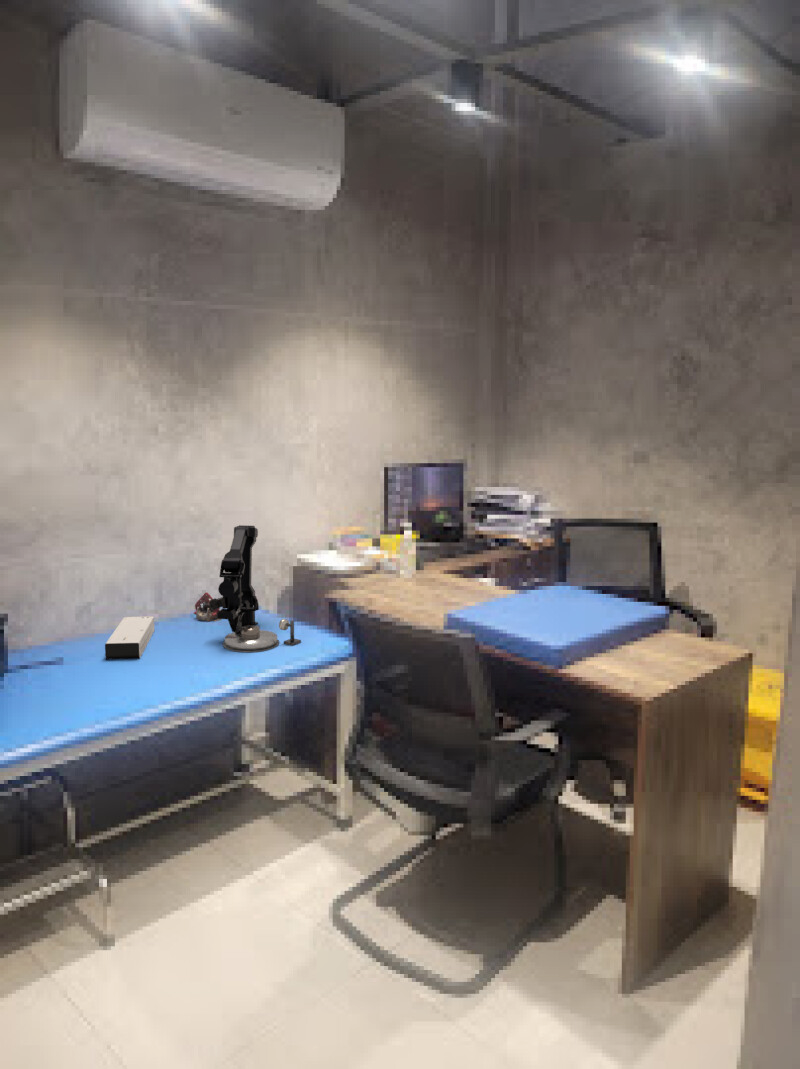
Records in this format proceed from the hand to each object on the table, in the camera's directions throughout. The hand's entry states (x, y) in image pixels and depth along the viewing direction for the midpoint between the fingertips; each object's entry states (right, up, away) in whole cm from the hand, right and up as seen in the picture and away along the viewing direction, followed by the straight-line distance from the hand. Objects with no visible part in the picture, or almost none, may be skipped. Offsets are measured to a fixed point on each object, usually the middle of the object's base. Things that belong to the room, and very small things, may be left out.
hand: (234, 631), depth 302 cm
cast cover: (+7, -2, -2) cm, 7 cm away
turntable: (+7, -4, -2) cm, 8 cm away
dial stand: (+22, -4, 0) cm, 22 cm away
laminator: (-37, -5, -5) cm, 37 cm away
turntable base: (+7, -4, -2) cm, 8 cm away
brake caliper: (-17, +2, +30) cm, 35 cm away
